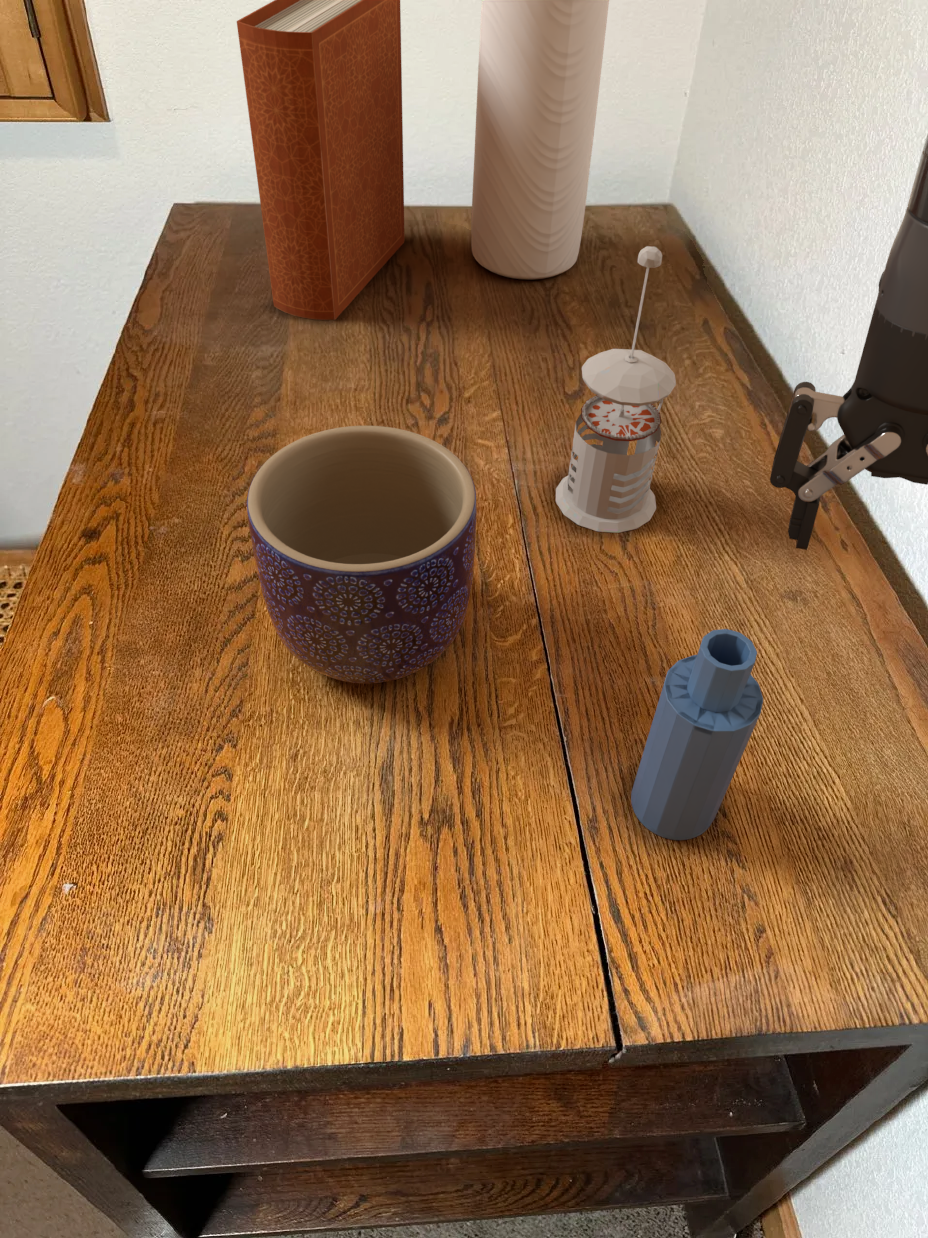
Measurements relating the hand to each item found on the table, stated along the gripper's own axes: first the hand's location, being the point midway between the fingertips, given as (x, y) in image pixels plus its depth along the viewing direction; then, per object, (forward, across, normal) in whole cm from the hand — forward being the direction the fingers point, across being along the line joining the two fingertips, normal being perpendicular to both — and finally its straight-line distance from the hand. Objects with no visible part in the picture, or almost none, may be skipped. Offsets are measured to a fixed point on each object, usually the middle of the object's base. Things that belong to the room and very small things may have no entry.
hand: (872, 554), depth 59 cm
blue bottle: (+18, -9, -9) cm, 22 cm away
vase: (+8, -43, +67) cm, 80 cm away
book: (+7, -63, +53) cm, 83 cm away
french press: (+14, -21, +23) cm, 34 cm away
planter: (+15, -36, -1) cm, 39 cm away
